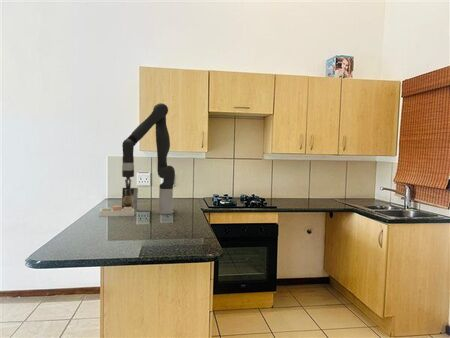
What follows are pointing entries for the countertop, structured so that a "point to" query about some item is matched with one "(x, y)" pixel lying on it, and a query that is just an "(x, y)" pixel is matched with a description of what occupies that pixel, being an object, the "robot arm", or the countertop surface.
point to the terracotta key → (117, 208)
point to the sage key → (106, 209)
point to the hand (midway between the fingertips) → (128, 195)
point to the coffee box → (130, 198)
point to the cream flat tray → (116, 213)
